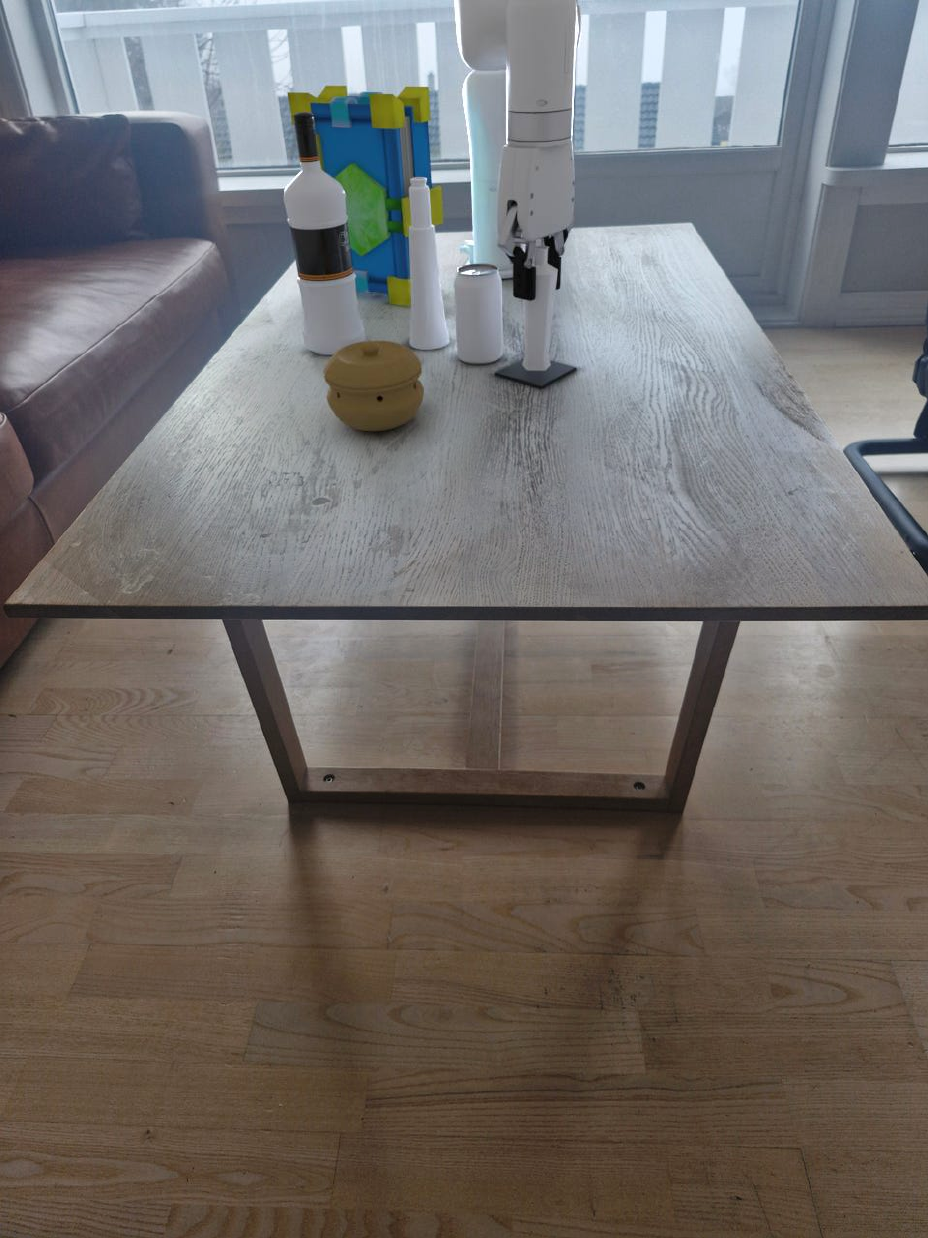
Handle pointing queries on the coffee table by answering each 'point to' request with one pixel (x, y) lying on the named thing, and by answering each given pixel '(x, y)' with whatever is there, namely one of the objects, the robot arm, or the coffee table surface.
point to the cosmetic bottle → (424, 273)
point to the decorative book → (375, 175)
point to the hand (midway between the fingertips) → (536, 291)
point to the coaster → (535, 373)
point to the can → (478, 313)
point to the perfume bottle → (539, 313)
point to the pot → (374, 385)
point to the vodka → (322, 250)
